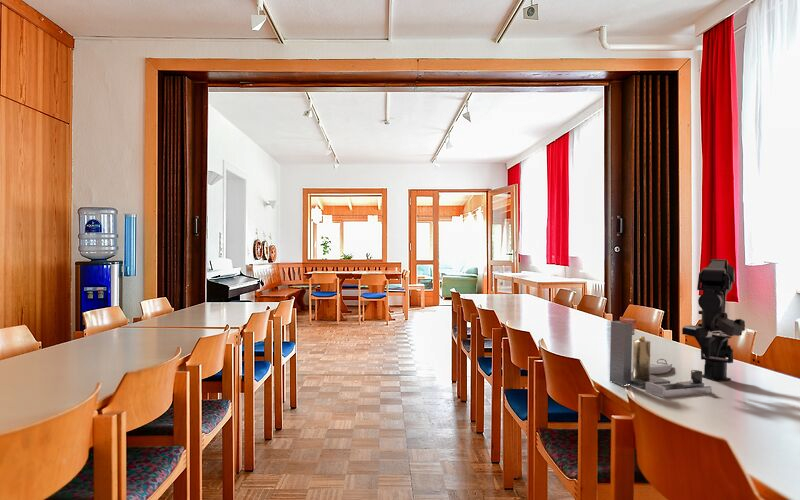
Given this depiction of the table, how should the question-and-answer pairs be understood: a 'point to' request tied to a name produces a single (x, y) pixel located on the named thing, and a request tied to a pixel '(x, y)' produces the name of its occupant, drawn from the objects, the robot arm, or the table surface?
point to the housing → (641, 358)
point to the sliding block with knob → (692, 381)
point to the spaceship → (660, 367)
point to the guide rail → (670, 391)
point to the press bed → (625, 355)
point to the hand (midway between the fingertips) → (711, 357)
